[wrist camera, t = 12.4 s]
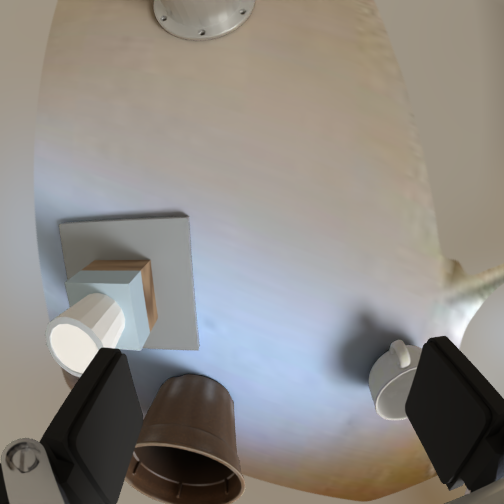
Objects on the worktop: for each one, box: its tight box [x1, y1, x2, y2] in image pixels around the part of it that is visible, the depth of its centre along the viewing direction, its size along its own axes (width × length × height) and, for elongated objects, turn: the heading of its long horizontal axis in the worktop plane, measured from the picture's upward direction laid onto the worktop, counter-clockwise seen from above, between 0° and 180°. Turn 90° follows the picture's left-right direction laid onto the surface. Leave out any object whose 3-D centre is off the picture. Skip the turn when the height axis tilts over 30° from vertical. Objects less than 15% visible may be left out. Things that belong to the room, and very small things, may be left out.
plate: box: [59, 216, 200, 350], centre depth 40 cm, size 18×18×1 cm
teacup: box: [369, 340, 422, 420], centre depth 41 cm, size 14×11×8 cm
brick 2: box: [65, 270, 150, 351], centre depth 34 cm, size 8×8×4 cm
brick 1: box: [82, 260, 158, 332], centre depth 37 cm, size 8×8×4 cm
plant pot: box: [124, 374, 245, 504], centre depth 38 cm, size 16×16×16 cm
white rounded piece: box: [45, 293, 125, 377], centre depth 28 cm, size 7×7×7 cm
